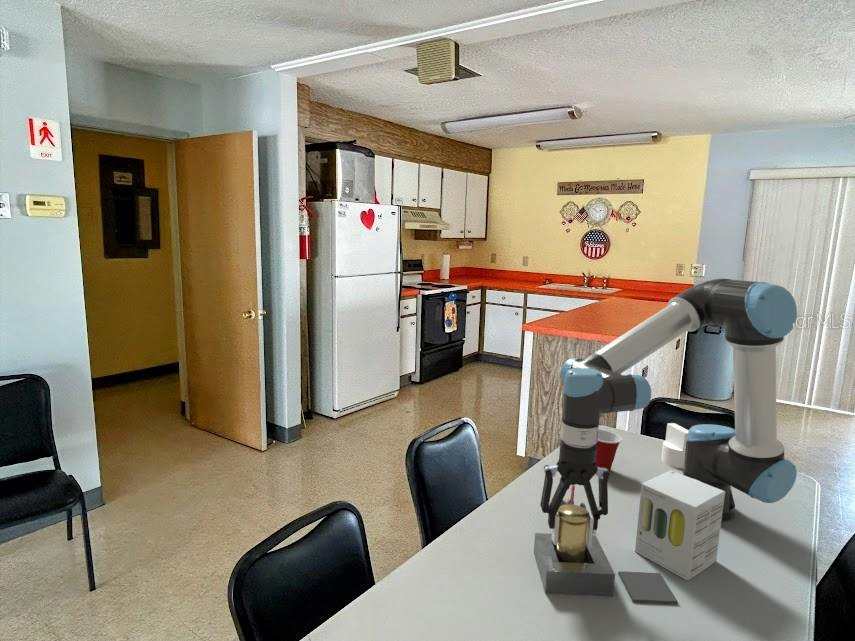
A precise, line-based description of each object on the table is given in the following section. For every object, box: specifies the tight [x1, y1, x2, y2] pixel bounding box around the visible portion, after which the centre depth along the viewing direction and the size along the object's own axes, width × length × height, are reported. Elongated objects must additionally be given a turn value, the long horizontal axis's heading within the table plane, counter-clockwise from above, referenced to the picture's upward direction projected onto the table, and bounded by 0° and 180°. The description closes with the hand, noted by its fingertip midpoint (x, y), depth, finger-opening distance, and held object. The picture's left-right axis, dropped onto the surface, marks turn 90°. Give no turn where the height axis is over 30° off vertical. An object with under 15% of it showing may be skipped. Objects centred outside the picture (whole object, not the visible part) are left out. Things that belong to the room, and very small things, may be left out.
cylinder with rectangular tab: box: [661, 422, 689, 470], centre depth 174 cm, size 9×9×12 cm
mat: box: [618, 570, 679, 605], centre depth 111 cm, size 9×9×1 cm
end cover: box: [556, 504, 590, 563], centre depth 115 cm, size 7×7×13 cm
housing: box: [533, 532, 616, 597], centre depth 115 cm, size 14×14×5 cm
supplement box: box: [634, 469, 725, 581], centre depth 121 cm, size 13×13×18 cm
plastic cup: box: [596, 428, 623, 473], centre depth 166 cm, size 11×11×12 cm
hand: (571, 541), depth 115 cm, fingers closed on end cover, 7 cm apart
